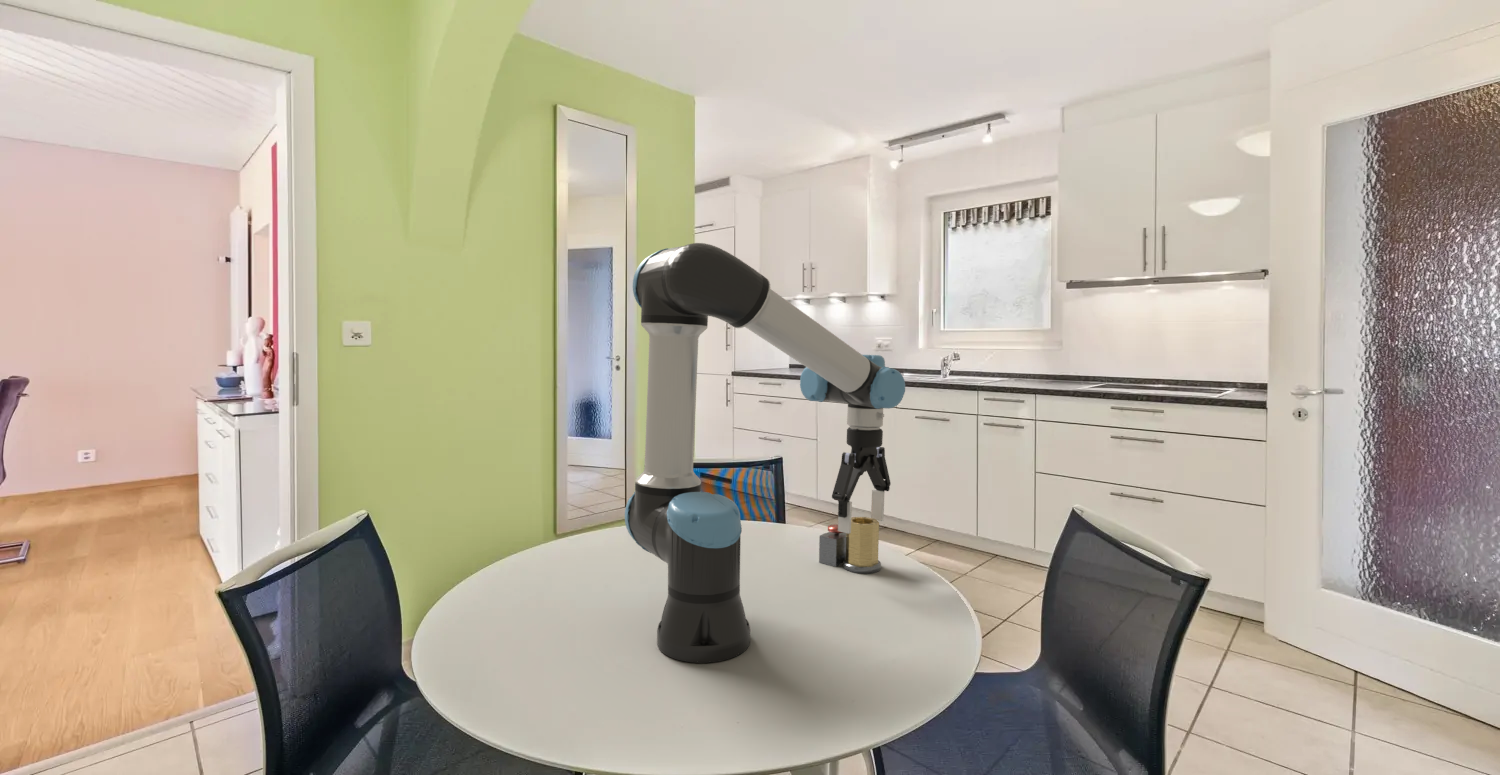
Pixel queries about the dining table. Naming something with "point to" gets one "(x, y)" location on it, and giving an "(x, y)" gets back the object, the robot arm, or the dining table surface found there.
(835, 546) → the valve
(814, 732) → the dining table surface
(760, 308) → the robot arm
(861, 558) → the tan octagonal tube
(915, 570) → the dining table surface
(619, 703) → the dining table surface
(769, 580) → the dining table surface
